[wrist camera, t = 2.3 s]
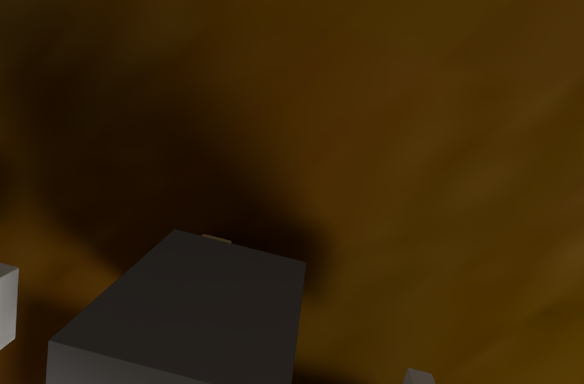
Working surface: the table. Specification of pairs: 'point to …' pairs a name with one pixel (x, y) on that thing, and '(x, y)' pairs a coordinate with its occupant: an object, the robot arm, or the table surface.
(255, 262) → the plug
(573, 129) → the table surface
